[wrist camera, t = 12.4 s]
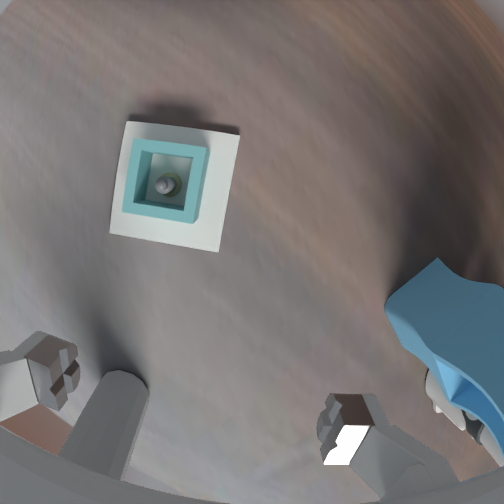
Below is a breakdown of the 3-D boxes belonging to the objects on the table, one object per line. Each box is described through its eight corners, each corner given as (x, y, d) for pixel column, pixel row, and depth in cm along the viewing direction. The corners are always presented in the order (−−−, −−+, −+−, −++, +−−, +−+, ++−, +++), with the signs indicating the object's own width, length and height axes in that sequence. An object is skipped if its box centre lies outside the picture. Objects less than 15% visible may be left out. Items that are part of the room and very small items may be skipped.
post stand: (240, 136, 30) (240, 128, 25) (218, 250, 33) (215, 263, 28) (129, 122, 29) (111, 113, 24) (112, 231, 32) (93, 240, 27)
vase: (380, 302, 35) (515, 437, 11) (437, 256, 34) (593, 338, 10) (405, 353, 37) (509, 477, 13) (456, 310, 36) (578, 402, 12)
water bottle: (106, 356, 35) (18, 508, 11) (160, 383, 36) (111, 553, 12) (93, 399, 37) (26, 532, 12) (141, 422, 38) (99, 567, 14)
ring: (210, 151, 29) (206, 147, 26) (198, 218, 31) (192, 224, 27) (145, 142, 29) (133, 138, 25) (134, 207, 30) (121, 212, 26)
